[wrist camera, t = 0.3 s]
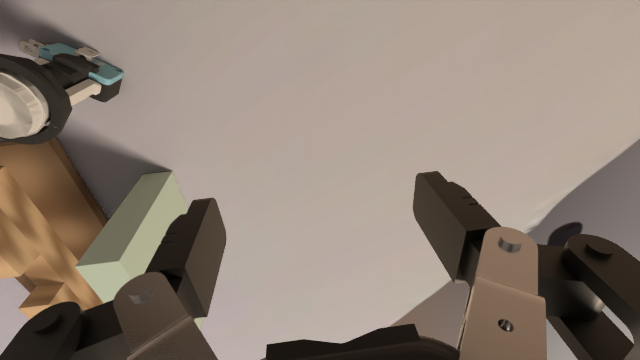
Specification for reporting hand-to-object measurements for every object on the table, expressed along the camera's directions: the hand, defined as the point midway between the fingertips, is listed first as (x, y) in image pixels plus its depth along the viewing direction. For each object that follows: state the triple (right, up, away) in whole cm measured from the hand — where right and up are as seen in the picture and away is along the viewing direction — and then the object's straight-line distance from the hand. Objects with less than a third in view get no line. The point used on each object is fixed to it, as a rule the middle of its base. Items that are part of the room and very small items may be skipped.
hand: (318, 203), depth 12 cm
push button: (-19, +11, +13) cm, 26 cm away
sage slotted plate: (-16, -5, +23) cm, 29 cm away
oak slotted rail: (-30, -7, +22) cm, 38 cm away
